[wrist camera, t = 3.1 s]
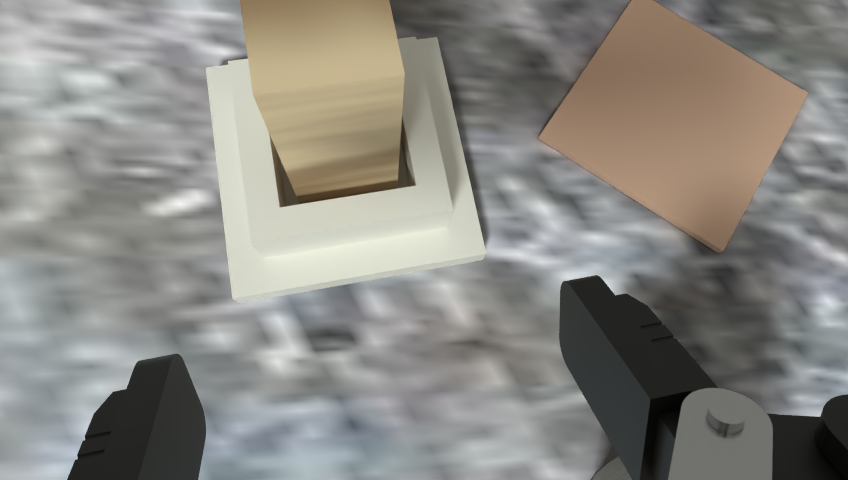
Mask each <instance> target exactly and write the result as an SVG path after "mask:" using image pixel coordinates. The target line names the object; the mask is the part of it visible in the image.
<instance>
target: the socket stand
mask: <svg viewBox="0 0 848 480" xmlns="http://www.w3.org/2000/svg"><path fill="white" fill-rule="evenodd" d="M398 44H399V49H400V54H401V59H402V63H403V68H404V73H405V78H404V93H403V108H402V123H401V138H400V153H399V168H398V183H397V189H392V190H385V191H379V192H373V193H367V194H361V195H354V196H348V197H342V198H336V199H329V200H323V201H317V202H311V203H305V204H299V201H298V199H297V197H296V194H295V192H294V190H293V187H292V185H291V183H290V180H289V178H288V176H287V173H286V171H285V169H284V167H283V164H282V162H281V160H280V157H279V155H278V153H277V150H276V148H275V146H274V143H273V141H272V139H271V136H270V134H269V132H268V129H267V127H266V125H265V122H264V120H263V118H262V115H261V113H260V111H259V108H258V106H257V104H256V101H255V99H254V97H253V92H252V85H251V77H250V70H249V62H248V59H241V60H233V61H228V65H221V66H214V67H206V74H207V83H208V92H209V100H210V109H211V117H212V126H213V135H214V143H215V152H216V161H217V169H218V178H219V187H220V195H221V204H222V212H223V221H224V230H225V238H226V247H227V256H228V264H229V273H230V281H231V290H232V299H234V300H235V301H237V302H238V303H244V302H250V301H255V300H261V299H267V298H272V297H278V296H284V295H289V294H295V293H300V292H306V291H312V290H317V289H323V288H328V287H334V286H340V285H345V284H351V283H357V282H362V281H368V280H373V279H379V278H385V277H390V276H396V275H402V274H407V273H413V272H418V271H424V270H430V269H435V268H441V267H447V266H452V265H458V264H463V263H469V262H475V261H480V260H482V259H483V258H484V256H485V255H486V250H485V246H484V241H483V237H482V232H481V228H480V224H479V219H478V215H477V210H476V206H475V202H474V197H473V193H472V188H471V184H470V180H469V175H468V171H467V166H466V162H465V157H464V153H463V149H462V144H461V140H460V135H459V131H458V127H457V122H456V118H455V113H454V109H453V105H452V100H451V96H450V91H449V87H448V83H447V78H446V74H445V69H444V65H443V61H442V56H441V52H440V47H439V43H438V39H437V37H432V38H425V39H417V40H416V36H415V37H407V38H400V39H398Z"/></svg>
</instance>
